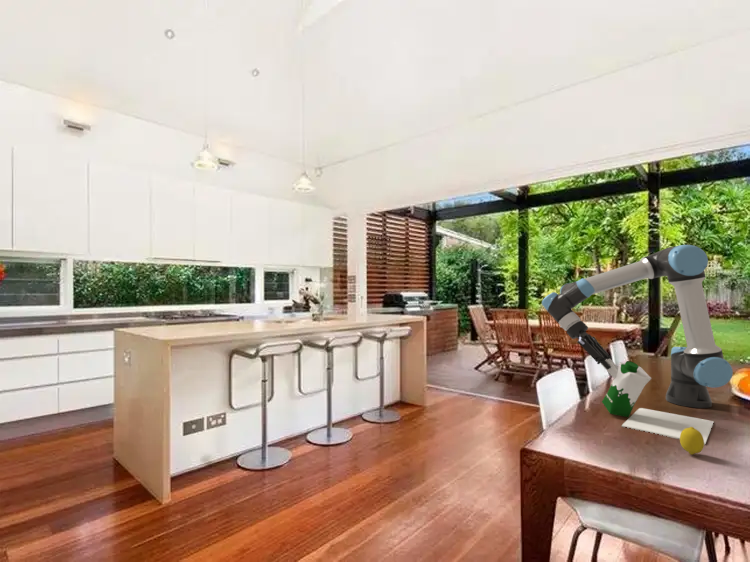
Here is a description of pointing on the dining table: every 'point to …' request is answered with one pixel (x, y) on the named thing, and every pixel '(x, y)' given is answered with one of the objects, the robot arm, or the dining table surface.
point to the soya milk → (625, 389)
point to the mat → (667, 423)
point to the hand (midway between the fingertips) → (618, 375)
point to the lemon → (691, 440)
